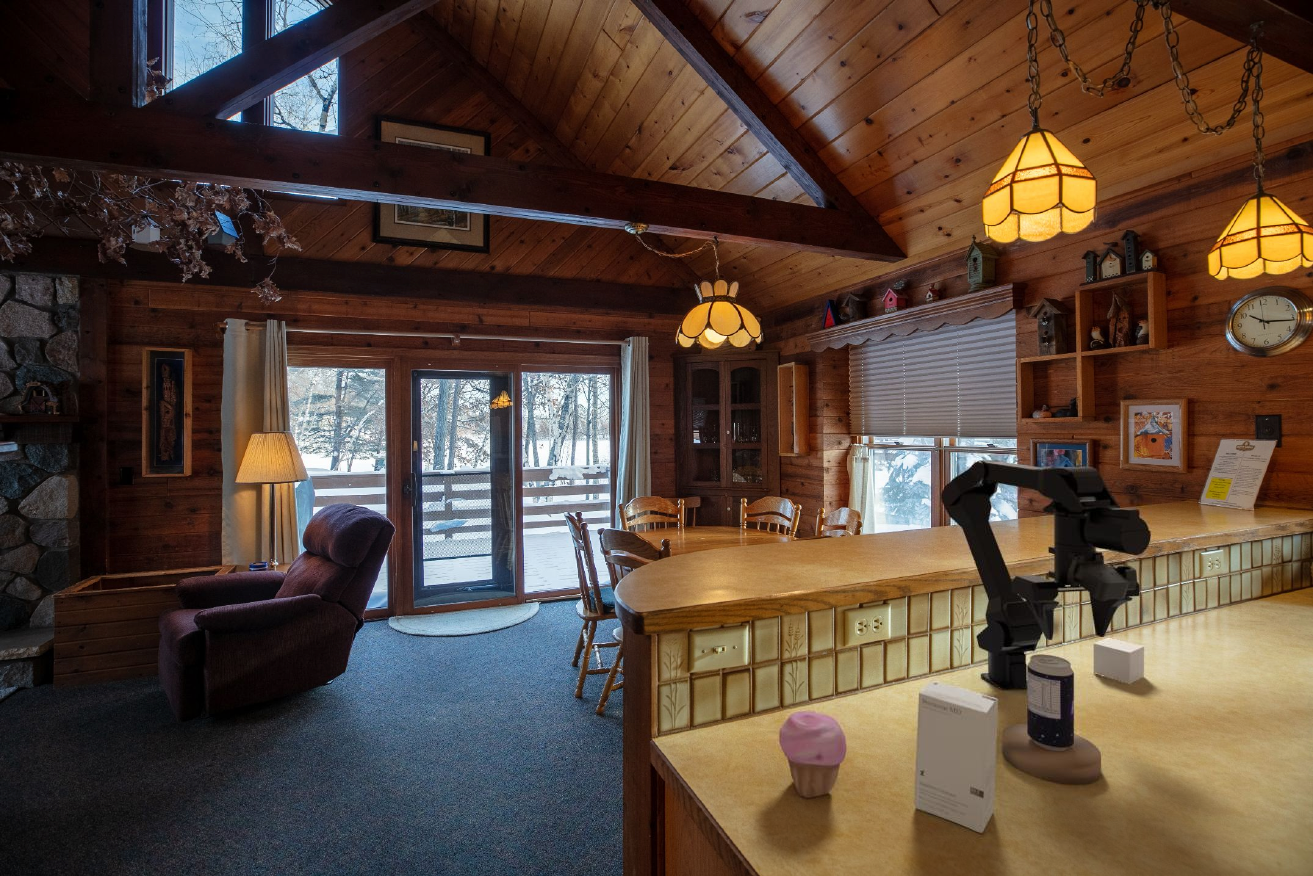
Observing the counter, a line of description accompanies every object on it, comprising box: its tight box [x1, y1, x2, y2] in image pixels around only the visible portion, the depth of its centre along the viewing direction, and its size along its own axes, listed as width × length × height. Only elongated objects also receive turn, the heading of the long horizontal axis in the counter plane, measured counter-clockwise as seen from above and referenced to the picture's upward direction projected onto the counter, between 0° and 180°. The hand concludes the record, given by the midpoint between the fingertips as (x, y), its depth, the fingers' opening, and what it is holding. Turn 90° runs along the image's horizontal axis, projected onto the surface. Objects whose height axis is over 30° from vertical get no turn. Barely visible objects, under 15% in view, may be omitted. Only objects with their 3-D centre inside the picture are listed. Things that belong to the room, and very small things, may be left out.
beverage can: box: [1026, 653, 1075, 751], centre depth 90 cm, size 6×6×12 cm
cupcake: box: [778, 710, 847, 799], centre depth 84 cm, size 9×9×10 cm
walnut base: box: [1001, 723, 1102, 786], centre depth 90 cm, size 12×12×2 cm
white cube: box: [1093, 637, 1145, 685], centre depth 120 cm, size 6×6×6 cm
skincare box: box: [913, 680, 999, 834], centre depth 79 cm, size 8×6×15 cm
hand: (1074, 637), depth 103 cm, fingers open, 9 cm apart
